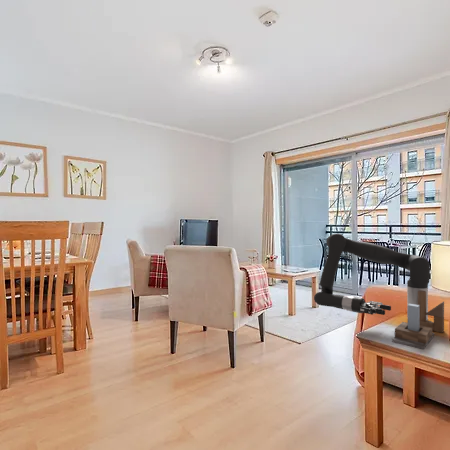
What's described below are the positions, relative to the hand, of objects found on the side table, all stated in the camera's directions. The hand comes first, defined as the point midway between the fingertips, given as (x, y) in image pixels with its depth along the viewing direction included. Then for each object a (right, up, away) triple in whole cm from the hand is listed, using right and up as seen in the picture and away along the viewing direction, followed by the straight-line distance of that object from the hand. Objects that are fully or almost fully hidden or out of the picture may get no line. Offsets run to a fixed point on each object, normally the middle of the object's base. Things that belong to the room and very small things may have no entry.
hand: (387, 310), depth 149 cm
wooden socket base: (+8, -11, -7) cm, 15 cm away
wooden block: (+22, -10, +3) cm, 24 cm away
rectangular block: (+8, -10, -7) cm, 14 cm away
